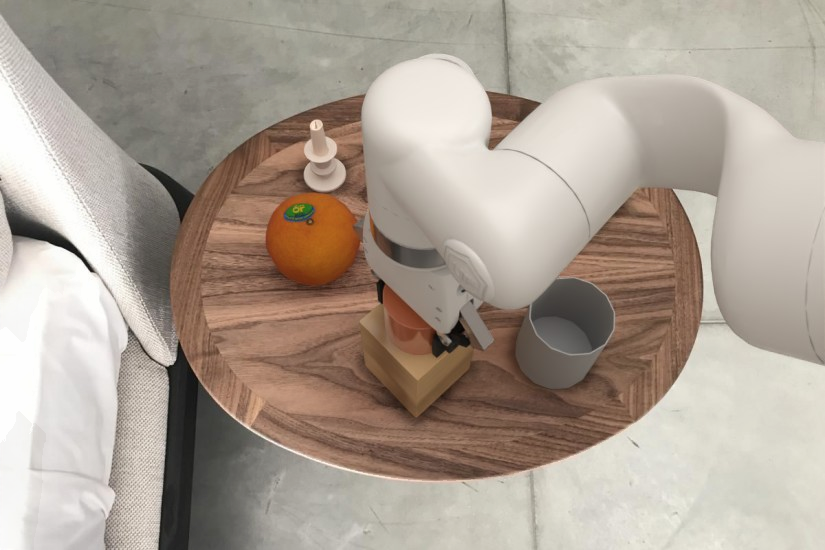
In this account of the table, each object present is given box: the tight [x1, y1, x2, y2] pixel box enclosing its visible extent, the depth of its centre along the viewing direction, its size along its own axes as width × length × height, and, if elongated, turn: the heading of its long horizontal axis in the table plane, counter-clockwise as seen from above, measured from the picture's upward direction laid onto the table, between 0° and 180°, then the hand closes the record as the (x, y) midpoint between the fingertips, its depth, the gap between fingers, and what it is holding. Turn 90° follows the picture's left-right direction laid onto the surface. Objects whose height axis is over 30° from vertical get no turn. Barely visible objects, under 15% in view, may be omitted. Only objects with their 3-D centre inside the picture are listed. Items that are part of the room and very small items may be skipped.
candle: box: [303, 119, 347, 194], centre depth 85 cm, size 5×5×10 cm
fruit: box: [265, 192, 361, 287], centre depth 81 cm, size 11×10×8 cm
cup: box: [514, 276, 616, 390], centre depth 74 cm, size 8×8×10 cm
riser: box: [358, 302, 474, 419], centre depth 73 cm, size 8×8×12 cm
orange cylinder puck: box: [383, 283, 437, 355], centre depth 65 cm, size 6×6×6 cm
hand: (419, 318), depth 66 cm, fingers closed on orange cylinder puck, 6 cm apart
